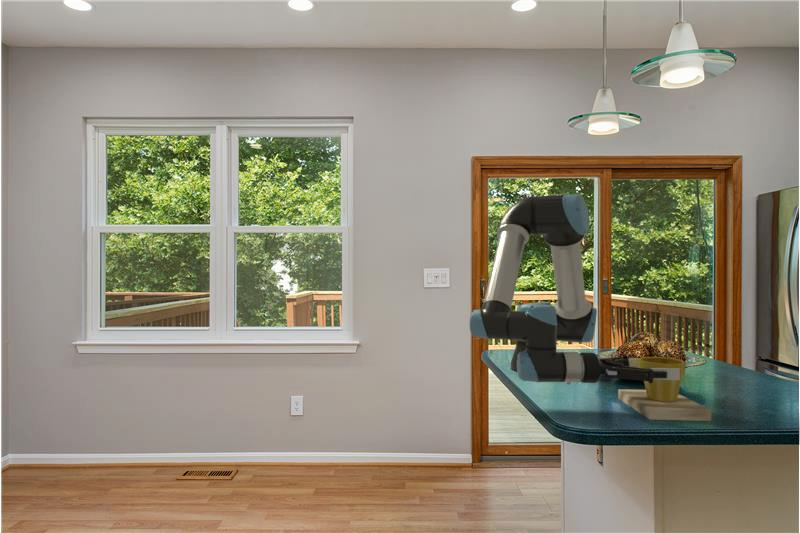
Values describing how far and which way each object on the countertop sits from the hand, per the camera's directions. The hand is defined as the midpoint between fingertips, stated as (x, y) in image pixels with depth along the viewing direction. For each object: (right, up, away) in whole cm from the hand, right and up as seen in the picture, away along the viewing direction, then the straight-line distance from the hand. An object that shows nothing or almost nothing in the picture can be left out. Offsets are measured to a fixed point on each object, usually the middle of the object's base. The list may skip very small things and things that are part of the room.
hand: (666, 368), depth 133 cm
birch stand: (-1, -10, 0) cm, 10 cm away
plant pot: (-1, -8, 0) cm, 8 cm away
